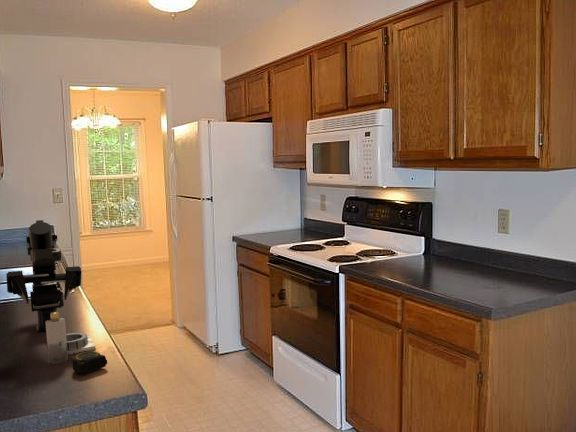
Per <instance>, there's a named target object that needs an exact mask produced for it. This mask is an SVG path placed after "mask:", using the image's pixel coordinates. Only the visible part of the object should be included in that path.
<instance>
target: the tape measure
mask: <svg viewBox="0 0 576 432" xmlns="http://www.w3.org/2000/svg"><path fill="white" fill-rule="evenodd" d="M71 360H72V361H71V364H72V369H73V371H74V372H75V373H79V374H87V373H91V371H92V372H94V371H97V370H99V369H102V368H105V367H106V366H107V365H108V360H107V358H106V356H105V355H104V354H101V353H100V352H99V351H94V350H91V351H86V352H80V353H77V354H75V355H74V356H73V358H72V359H71Z"/></svg>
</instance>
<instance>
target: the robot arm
mask: <svg viewBox="0 0 576 432" xmlns="http://www.w3.org/2000/svg"><path fill="white" fill-rule="evenodd" d="M52 229H53V228H52V225H51V224H50V223H47V222H44V219H39V220H35V222H34V223H33V224H31V225H30V226H29V227H28V230H29V231H28V235H26V236H25V237H26V250H27V256H30V261H31V264H32V274H23V273H24V271H23V270H15V271H14V270H13V271H7V272H6V275H5V276H6V292H7V293H9V294H13V295H18V297H20V298H21V299H22V300H23V302H24V303H26V305H29V303H30V305H31V312H32V313H33V312H36V317H37V318H36V320H37V324H36V325H35V328H36V331H37V333H39V332H44V331H46V321H47V320H50V319H51V316H50V313H52V312H58V309H60V308H62V307H65V304H64V303H65V302H64V301H66V300H67V299H68V297H69V295H70V294H71V292H72V291H73V290H74V289H76V288H79V287H80V286H82V267H80V266H79V265H78V266H65V272H64V273H56V271H57V265H56V262H61V261H62V250H61V248H60V247H59V248H58V247H57V248H55V246H56V244H57V241H58V235H57V234H56V233H53V230H52ZM58 283H64V292H63V291H62V290H61V288H60V287H58ZM26 284H32V285H31V286H32V291H30V292H29V293H30V294H29V295H30V299H29V295H28V290H27V286H26ZM29 300H30V301H29Z"/></svg>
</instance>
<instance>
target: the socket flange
mask: <svg viewBox="0 0 576 432" xmlns="http://www.w3.org/2000/svg"><path fill="white" fill-rule="evenodd" d="M66 339H67V352H68V354H69V355H73V353H75V354H80V353H84V351H86V352H91V351H95V349H96V348H97V347H96V344H95V343H94V341H93V339H92V337H91V336H90V335H89V334H87V333H84V332H72V333H71V332H70V333H66ZM90 350H91V351H90ZM96 350H97V349H96ZM79 352H80V353H79Z"/></svg>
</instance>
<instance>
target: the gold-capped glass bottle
mask: <svg viewBox="0 0 576 432" xmlns="http://www.w3.org/2000/svg"><path fill="white" fill-rule="evenodd" d="M50 316H51V319H50V320H47V321H46V343H47V353H48V354H47V355H48V364H50V363H52V364H51V365H59V364H58V363H60V364H64V363H66V362H67V360H68V361H69V356H68V352H67V339H66V334H67V332H66V331H67V328H66V319H65V318H63V317H60V311H57V312H52V313H50ZM65 361H66V362H65ZM63 362H64V363H63Z"/></svg>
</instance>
